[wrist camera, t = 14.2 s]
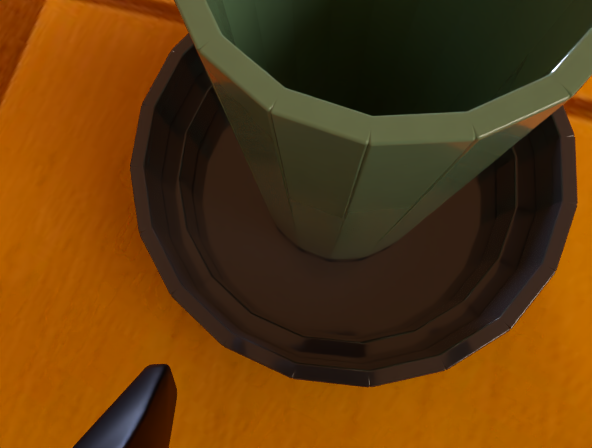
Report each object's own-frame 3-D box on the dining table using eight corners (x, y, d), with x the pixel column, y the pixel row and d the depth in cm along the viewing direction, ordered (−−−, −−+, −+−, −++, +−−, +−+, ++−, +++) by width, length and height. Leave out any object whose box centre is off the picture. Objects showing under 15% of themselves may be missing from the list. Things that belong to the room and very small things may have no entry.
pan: (569, 321, 16) (649, 325, 13) (201, 404, 16) (166, 433, 13) (458, 3, 20) (494, -73, 16) (148, 71, 20) (107, 12, 16)
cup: (454, 176, 17) (752, -106, 6) (348, 294, 16) (433, 254, 5) (336, 80, 18) (375, -324, 7) (231, 186, 18) (67, -62, 6)
